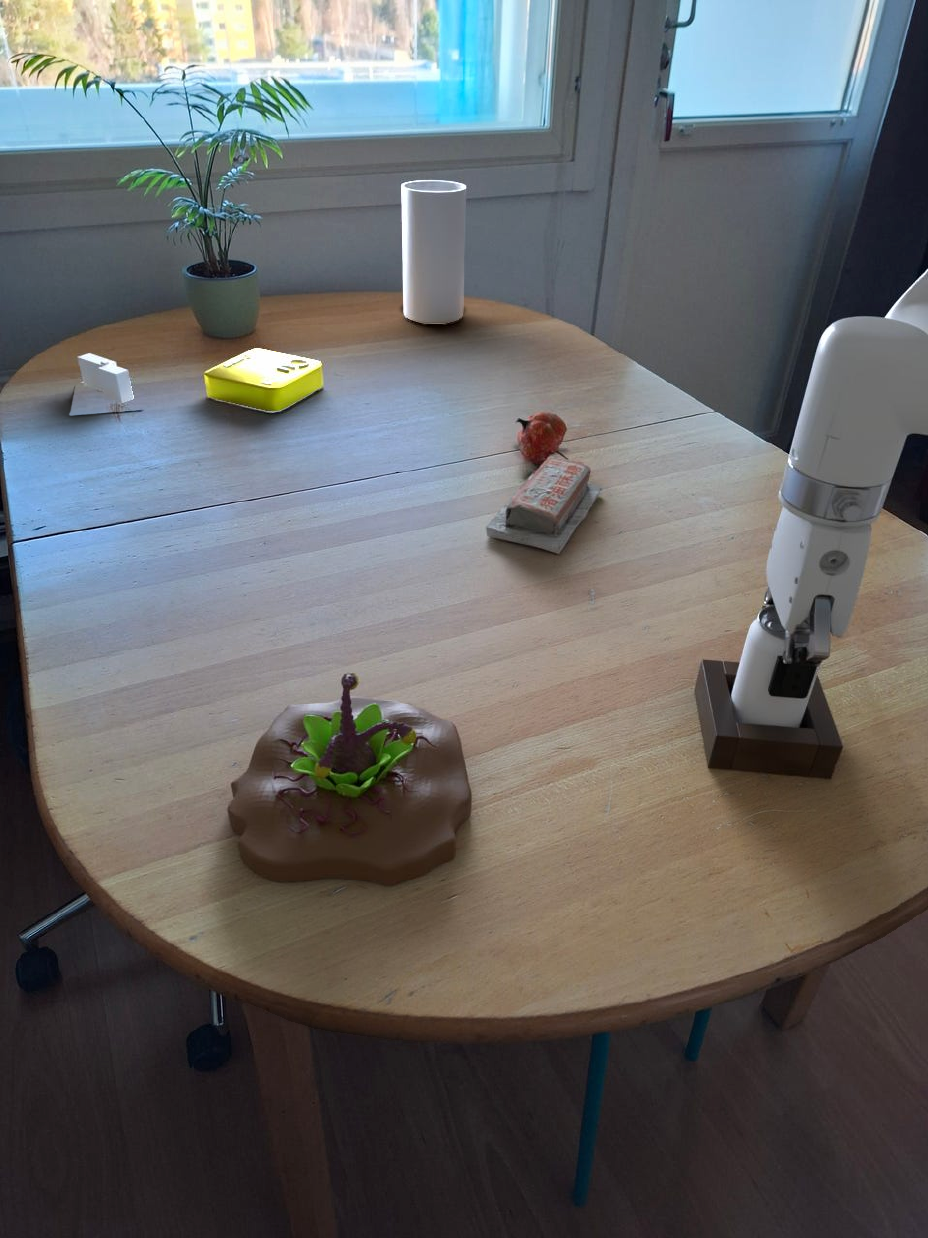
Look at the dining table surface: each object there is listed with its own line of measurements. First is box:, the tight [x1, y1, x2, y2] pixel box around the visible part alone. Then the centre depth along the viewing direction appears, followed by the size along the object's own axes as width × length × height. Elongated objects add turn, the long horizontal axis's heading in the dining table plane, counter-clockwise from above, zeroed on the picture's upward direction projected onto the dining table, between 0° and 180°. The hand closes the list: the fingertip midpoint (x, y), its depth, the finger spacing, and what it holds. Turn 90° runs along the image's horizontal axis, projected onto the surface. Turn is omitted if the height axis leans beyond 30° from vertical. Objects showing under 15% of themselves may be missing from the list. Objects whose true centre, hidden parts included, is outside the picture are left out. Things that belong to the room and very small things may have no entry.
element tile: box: [203, 348, 325, 411], centre depth 146 cm, size 15×15×5 cm
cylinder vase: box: [401, 179, 467, 323], centre depth 176 cm, size 12×12×25 cm
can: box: [731, 604, 822, 728], centre depth 78 cm, size 6×6×12 cm
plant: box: [227, 672, 473, 886], centre depth 71 cm, size 20×20×11 cm
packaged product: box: [485, 456, 603, 555], centre depth 114 cm, size 18×5×10 cm
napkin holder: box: [77, 352, 134, 403], centre depth 142 cm, size 15×11×6 cm
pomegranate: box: [515, 411, 570, 465], centre depth 127 cm, size 7×7×10 cm
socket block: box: [694, 658, 844, 780], centre depth 81 cm, size 11×11×4 cm
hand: (778, 667), depth 77 cm, fingers closed on can, 6 cm apart
